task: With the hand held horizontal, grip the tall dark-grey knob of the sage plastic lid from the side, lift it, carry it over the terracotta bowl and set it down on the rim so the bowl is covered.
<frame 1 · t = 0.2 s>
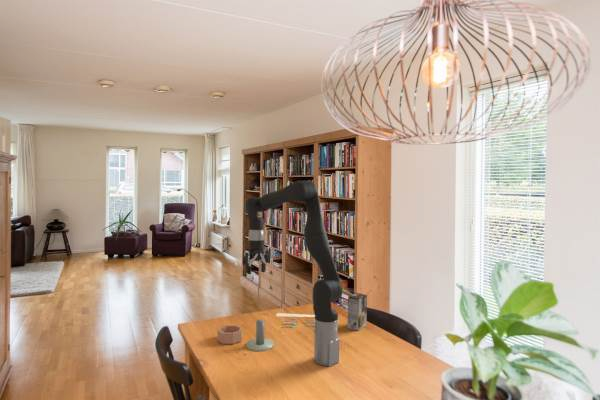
hand: (256, 273, 190), 28 cm above the table, tool pointing down, fingers open, 8 cm apart
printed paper: (301, 325, 203), on the table
bowl: (229, 339, 180), on the table
lid: (260, 345, 175), on the table
coffee box: (356, 327, 200), on the table
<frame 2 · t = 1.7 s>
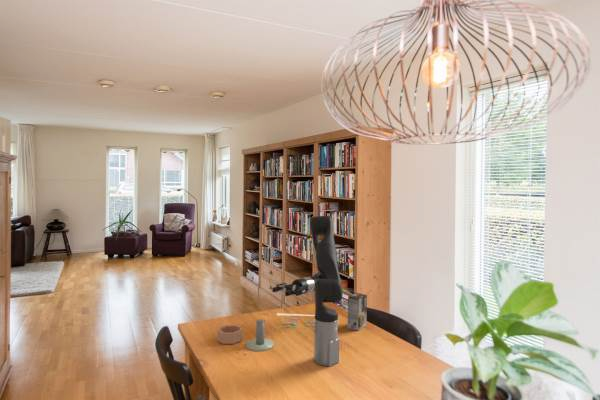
hand: (279, 292, 182), 22 cm above the table, tool horizontal, fingers open, 8 cm apart
nothing on the table moved.
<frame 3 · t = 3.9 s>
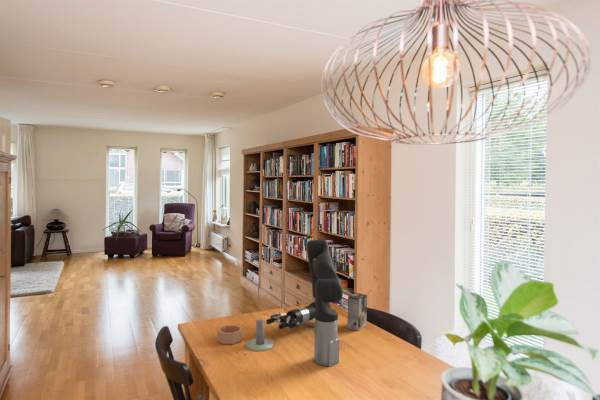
hand: (273, 324, 180), 8 cm above the table, tool horizontal, fingers open, 8 cm apart
nothing on the table moved.
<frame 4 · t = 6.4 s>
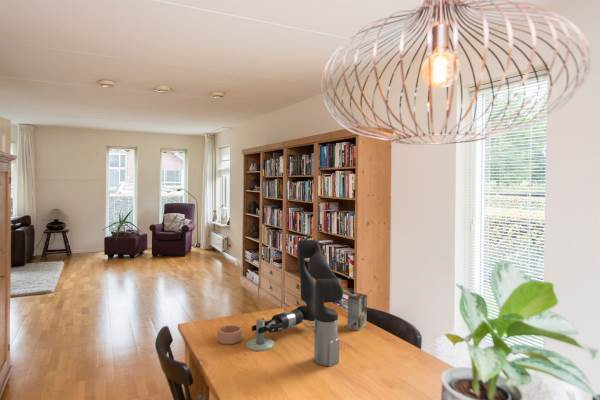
hand: (255, 329, 173), 8 cm above the table, tool horizontal, fingers closed on lid, 3 cm apart
lid: (260, 345, 175), on the table, touching gripper
everything else where it was.
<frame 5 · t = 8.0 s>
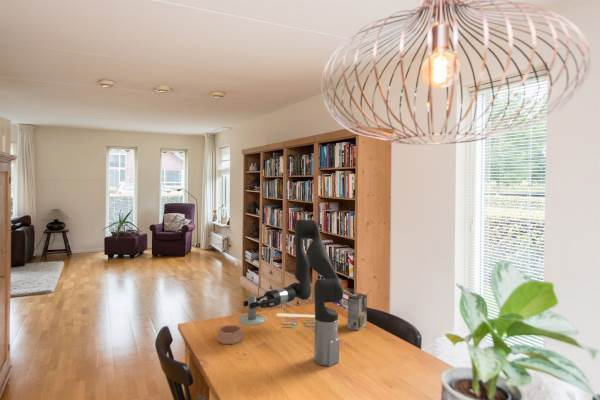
hand: (247, 305, 174), 18 cm above the table, tool horizontal, fingers closed on lid, 3 cm apart
lid: (252, 320, 177), point 10 cm above the table, touching gripper
everything else where it was.
when the fingers open (14 cm above the table, at t = 9.9 s): lid drops 1 cm, resting on bowl.
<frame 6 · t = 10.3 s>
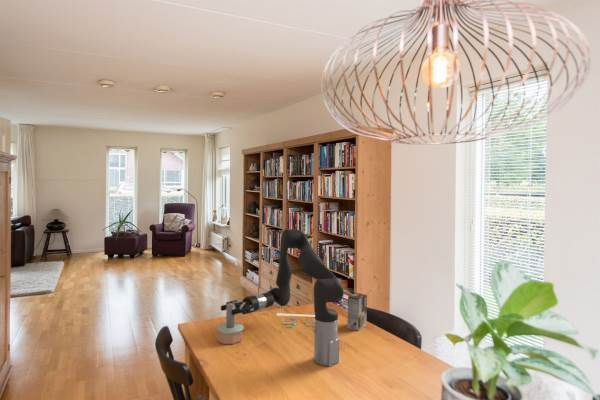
hand: (226, 310, 178), 14 cm above the table, tool horizontal, fingers open, 7 cm apart
lid: (230, 329, 180), point 5 cm above the table, touching bowl
everything else where it was.
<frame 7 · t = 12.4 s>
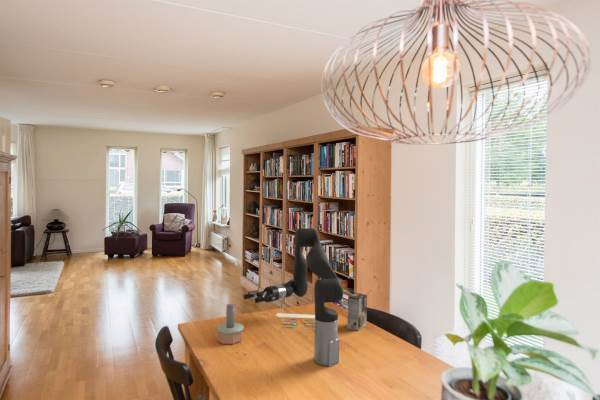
hand: (249, 298, 187), 17 cm above the table, tool horizontal, fingers open, 8 cm apart
nothing on the table moved.
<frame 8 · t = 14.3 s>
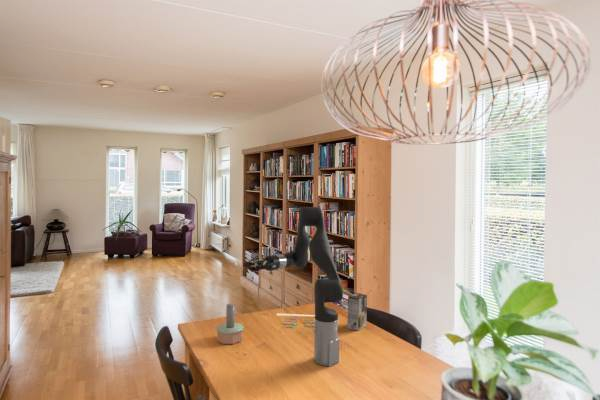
hand: (250, 266, 187), 32 cm above the table, tool horizontal, fingers open, 8 cm apart
nothing on the table moved.
at the end: lid 0.1 cm off-centre on the bowl, point 5.0 cm above the bowl's base; lid tilted 0°; the gripper is holding nothing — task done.
